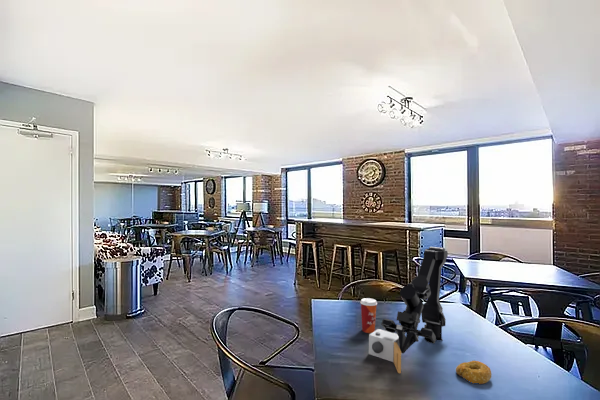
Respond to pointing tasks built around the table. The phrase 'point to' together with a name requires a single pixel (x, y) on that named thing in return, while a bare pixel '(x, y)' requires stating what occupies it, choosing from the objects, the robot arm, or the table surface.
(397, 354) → the side door
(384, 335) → the white block
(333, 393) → the table surface
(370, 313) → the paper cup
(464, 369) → the bagel
